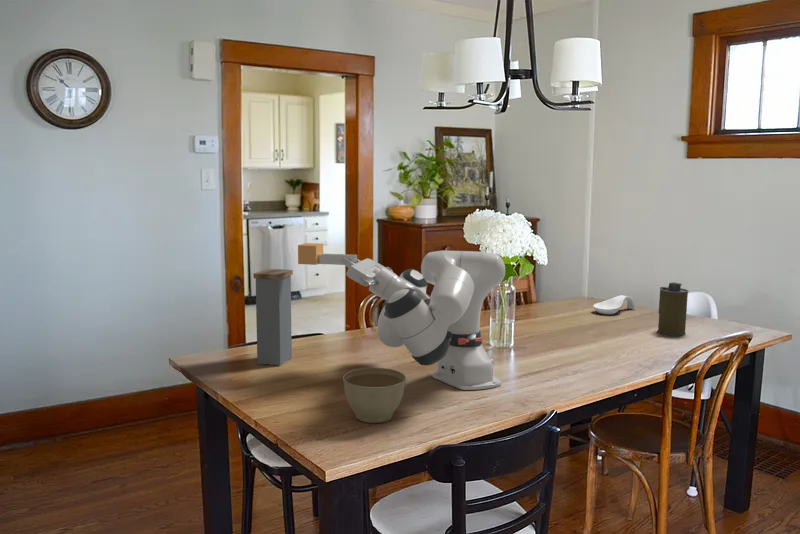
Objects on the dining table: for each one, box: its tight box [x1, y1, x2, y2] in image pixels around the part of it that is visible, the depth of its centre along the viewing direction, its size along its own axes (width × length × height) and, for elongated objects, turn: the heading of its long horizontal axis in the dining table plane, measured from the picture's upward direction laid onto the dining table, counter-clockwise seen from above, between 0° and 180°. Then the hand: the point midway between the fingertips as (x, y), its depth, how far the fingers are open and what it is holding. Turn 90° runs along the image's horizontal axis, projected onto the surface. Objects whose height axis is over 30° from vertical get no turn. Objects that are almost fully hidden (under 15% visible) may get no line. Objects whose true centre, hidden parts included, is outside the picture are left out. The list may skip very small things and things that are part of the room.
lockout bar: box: [297, 242, 358, 266], centre depth 220 cm, size 18×7×6 cm, turn 77°
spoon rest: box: [592, 294, 637, 316], centre depth 313 cm, size 24×12×7 cm, turn 125°
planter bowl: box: [342, 367, 407, 424], centre depth 178 cm, size 16×16×11 cm
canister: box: [657, 282, 689, 337], centre depth 274 cm, size 11×10×20 cm
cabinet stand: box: [252, 268, 294, 366], centre depth 227 cm, size 9×11×30 cm
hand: (344, 258), depth 219 cm, fingers closed on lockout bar, 3 cm apart
